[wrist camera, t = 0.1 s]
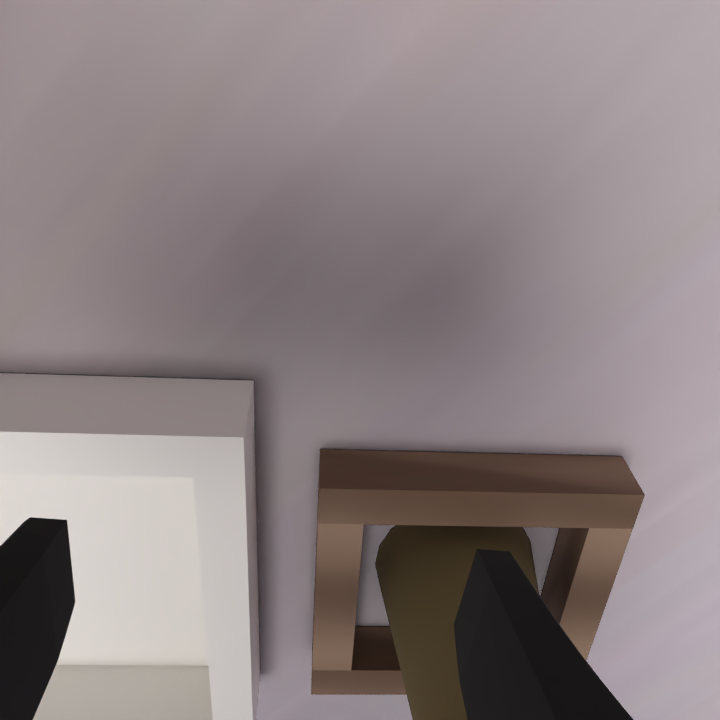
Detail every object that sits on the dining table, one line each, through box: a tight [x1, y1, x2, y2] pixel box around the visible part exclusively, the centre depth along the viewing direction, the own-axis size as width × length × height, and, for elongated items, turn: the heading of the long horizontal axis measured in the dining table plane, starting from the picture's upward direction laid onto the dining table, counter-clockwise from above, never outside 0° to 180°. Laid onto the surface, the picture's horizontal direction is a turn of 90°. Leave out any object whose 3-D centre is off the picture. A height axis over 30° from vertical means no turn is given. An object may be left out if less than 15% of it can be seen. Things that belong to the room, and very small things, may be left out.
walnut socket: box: [311, 449, 644, 694], centre depth 26 cm, size 11×11×2 cm
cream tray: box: [0, 373, 260, 720], centre depth 24 cm, size 15×13×3 cm
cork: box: [375, 525, 539, 720], centre depth 22 cm, size 6×6×11 cm
